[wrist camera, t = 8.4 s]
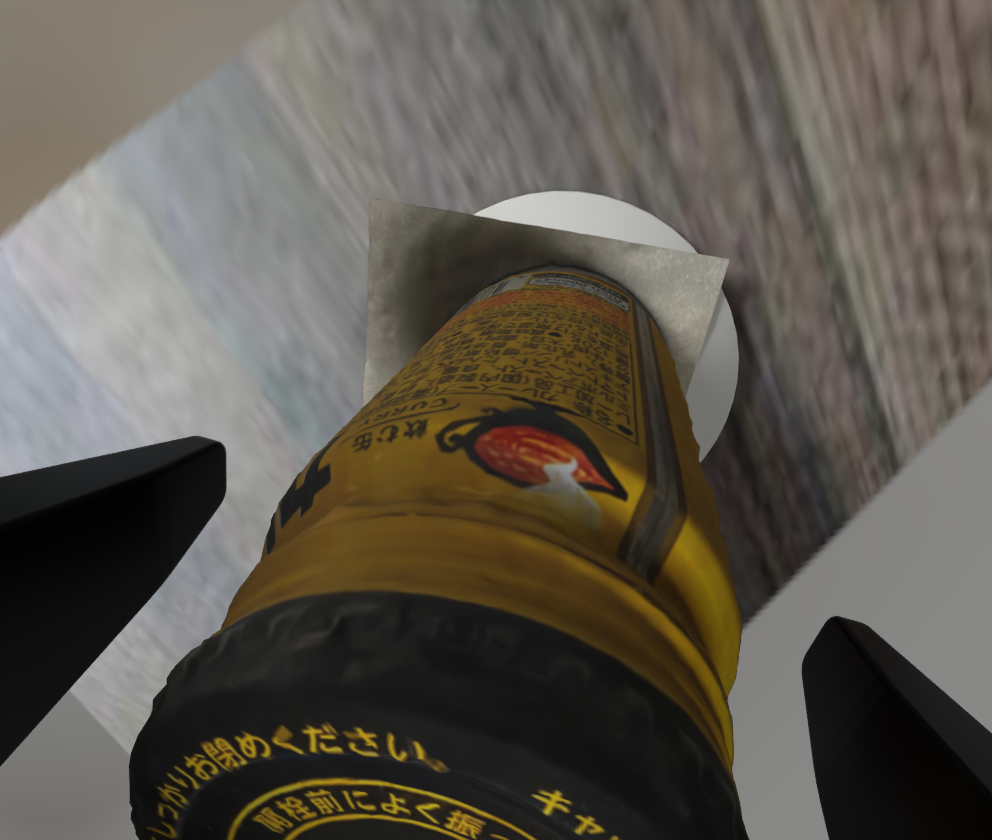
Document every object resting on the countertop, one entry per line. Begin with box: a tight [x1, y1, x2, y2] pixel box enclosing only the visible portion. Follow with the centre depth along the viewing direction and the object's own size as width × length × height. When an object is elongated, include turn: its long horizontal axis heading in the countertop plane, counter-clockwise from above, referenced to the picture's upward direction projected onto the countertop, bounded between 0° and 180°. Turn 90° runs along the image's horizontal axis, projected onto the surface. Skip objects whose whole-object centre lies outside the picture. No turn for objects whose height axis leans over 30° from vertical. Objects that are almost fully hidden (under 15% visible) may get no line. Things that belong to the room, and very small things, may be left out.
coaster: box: [474, 190, 739, 462], centre depth 15 cm, size 9×9×1 cm
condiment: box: [129, 197, 749, 840], centre depth 10 cm, size 7×8×12 cm
